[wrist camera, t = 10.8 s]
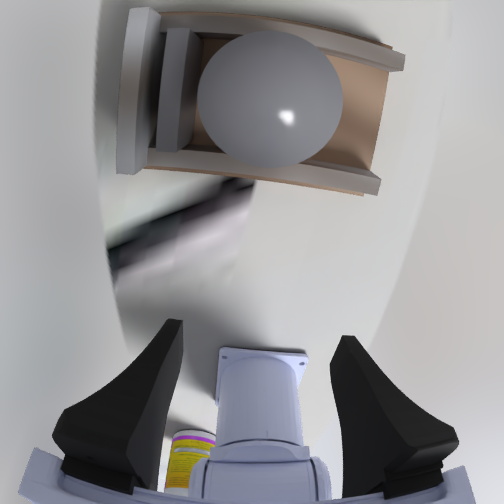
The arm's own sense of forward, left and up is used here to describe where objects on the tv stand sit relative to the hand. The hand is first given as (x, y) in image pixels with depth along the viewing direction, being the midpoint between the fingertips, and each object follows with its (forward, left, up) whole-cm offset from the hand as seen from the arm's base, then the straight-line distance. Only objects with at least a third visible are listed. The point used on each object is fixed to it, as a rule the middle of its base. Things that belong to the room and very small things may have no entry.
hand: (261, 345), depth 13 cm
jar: (+10, +1, -8) cm, 13 cm away
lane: (+10, +1, -9) cm, 14 cm away
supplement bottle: (-30, +4, -10) cm, 32 cm away
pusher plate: (+10, +5, -8) cm, 14 cm away
